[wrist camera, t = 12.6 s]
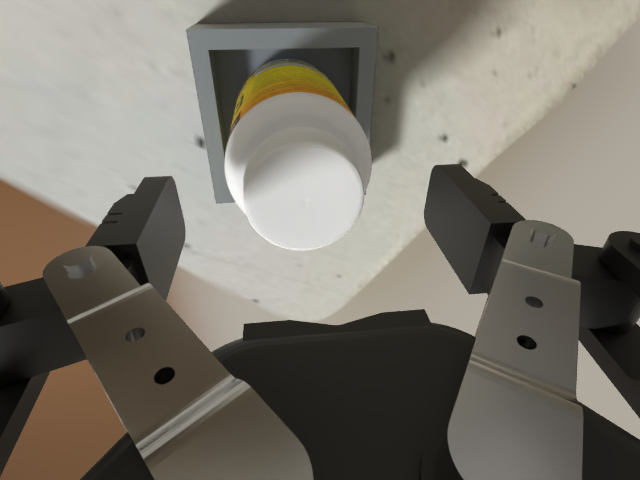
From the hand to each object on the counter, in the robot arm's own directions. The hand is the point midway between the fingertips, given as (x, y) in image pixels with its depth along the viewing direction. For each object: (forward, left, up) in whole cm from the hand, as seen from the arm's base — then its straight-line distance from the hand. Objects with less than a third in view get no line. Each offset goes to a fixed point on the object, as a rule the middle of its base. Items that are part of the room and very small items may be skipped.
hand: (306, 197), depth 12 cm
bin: (0, 0, -11) cm, 11 cm away
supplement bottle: (0, 0, -11) cm, 11 cm away
